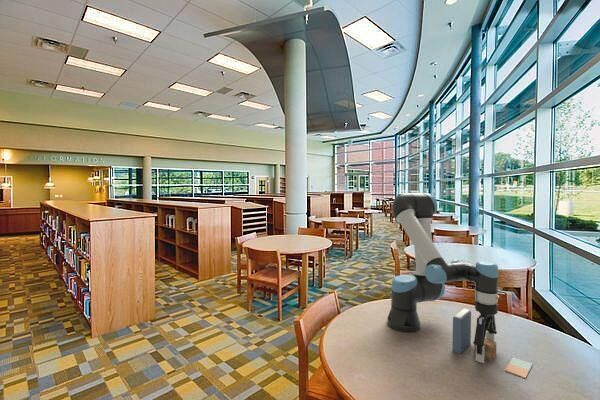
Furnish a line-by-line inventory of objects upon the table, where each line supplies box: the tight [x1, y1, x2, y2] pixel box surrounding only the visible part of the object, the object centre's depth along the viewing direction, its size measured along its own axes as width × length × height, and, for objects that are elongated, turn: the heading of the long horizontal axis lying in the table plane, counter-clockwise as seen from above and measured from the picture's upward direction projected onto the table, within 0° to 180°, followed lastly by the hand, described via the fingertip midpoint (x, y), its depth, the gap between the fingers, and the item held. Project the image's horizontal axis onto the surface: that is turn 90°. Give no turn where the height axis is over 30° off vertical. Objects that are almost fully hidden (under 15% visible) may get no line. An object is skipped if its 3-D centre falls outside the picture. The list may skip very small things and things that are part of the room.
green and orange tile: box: [504, 362, 530, 380], centre depth 106 cm, size 6×6×1 cm
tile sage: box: [509, 357, 533, 372], centre depth 110 cm, size 6×6×1 cm
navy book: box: [451, 308, 472, 355], centre depth 122 cm, size 3×12×14 cm, turn 133°
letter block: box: [473, 337, 497, 362], centre depth 116 cm, size 6×6×6 cm
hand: (485, 355), depth 116 cm, fingers open, 12 cm apart
